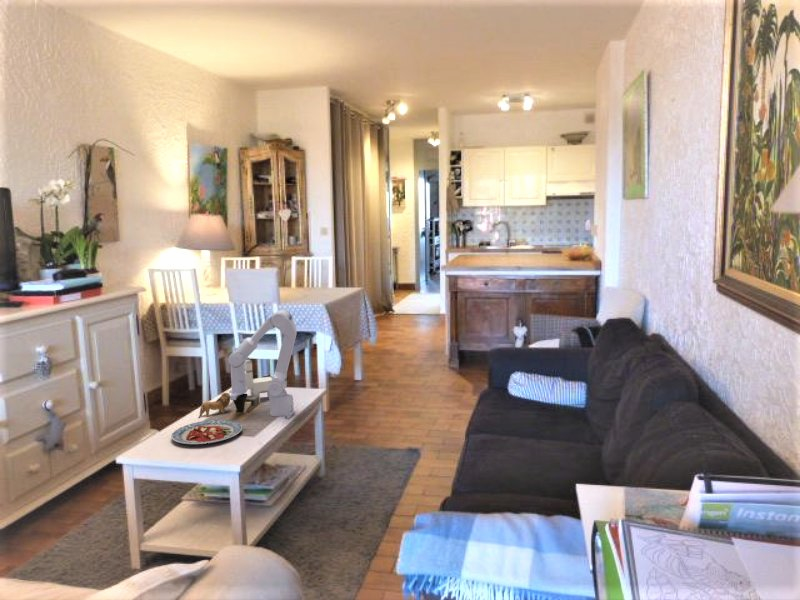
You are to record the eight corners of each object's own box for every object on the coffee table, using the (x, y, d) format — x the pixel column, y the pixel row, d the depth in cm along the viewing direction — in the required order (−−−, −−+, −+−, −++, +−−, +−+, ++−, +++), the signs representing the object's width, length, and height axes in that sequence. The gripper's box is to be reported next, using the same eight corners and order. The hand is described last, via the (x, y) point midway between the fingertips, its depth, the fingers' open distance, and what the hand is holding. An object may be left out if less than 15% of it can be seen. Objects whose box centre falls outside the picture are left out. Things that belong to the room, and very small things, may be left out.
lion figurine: (228, 410, 266) (226, 390, 264) (234, 413, 262) (232, 392, 260) (195, 419, 256) (193, 397, 255) (200, 421, 252) (199, 400, 251)
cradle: (262, 405, 272) (262, 395, 271) (244, 422, 250) (244, 411, 249) (242, 405, 273) (242, 395, 272) (223, 422, 251) (222, 411, 250)
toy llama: (282, 400, 278) (280, 357, 275) (243, 407, 270) (240, 362, 268) (278, 396, 284) (275, 354, 282) (239, 402, 277) (236, 358, 274)
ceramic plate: (158, 448, 224) (157, 440, 224) (192, 424, 250) (191, 417, 249) (225, 450, 221) (224, 442, 220) (252, 425, 246) (252, 418, 245)
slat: (254, 404, 270) (254, 399, 270) (245, 413, 258) (244, 407, 258) (248, 404, 271) (247, 399, 270) (238, 413, 259) (237, 407, 258)
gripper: (235, 375, 263) (237, 406, 265) (222, 384, 249) (224, 417, 251) (251, 375, 262) (253, 406, 264) (239, 384, 248) (241, 417, 250)
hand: (240, 412), depth 257 cm, fingers closed
